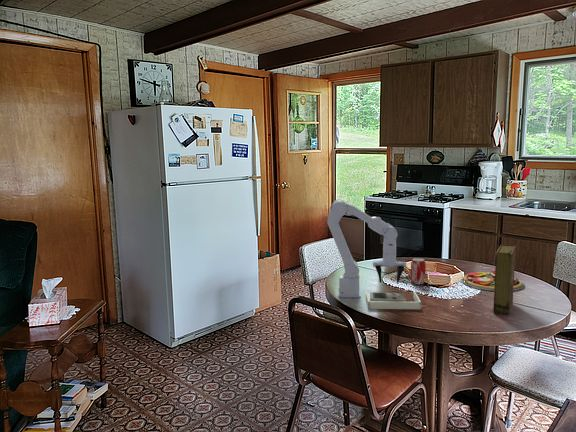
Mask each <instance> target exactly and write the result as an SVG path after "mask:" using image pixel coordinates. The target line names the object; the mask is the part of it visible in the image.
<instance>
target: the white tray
mask: <svg viewBox="0 0 576 432" xmlns="http://www.w3.org/2000/svg"><path fill="white" fill-rule="evenodd" d="M412 298H413V300H414V301H406V302H396V301H370V294H369V291H365V300H366V305H367V309H368V310H371V309H372V310H422V301H421V300H420V297H419V295H418V294H417V292H416V291H413V297H412Z"/></svg>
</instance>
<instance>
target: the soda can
mask: <svg viewBox="0 0 576 432" xmlns="http://www.w3.org/2000/svg"><path fill="white" fill-rule="evenodd" d="M425 273H426V274H427V263H426V261H425V258H421V257H414V258H412V260H411V261H410V282H411V283H412V284H413V283H414V284H413V285H416V284H417V286H419V285H420V284H422V285H424V284H425V283H424V278H425V277H424V274H425ZM420 286H421V285H420Z"/></svg>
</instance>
